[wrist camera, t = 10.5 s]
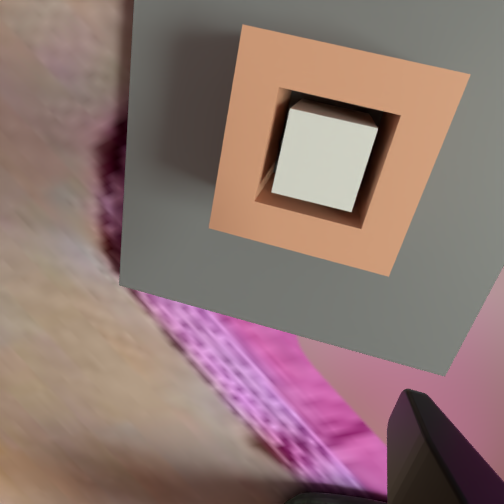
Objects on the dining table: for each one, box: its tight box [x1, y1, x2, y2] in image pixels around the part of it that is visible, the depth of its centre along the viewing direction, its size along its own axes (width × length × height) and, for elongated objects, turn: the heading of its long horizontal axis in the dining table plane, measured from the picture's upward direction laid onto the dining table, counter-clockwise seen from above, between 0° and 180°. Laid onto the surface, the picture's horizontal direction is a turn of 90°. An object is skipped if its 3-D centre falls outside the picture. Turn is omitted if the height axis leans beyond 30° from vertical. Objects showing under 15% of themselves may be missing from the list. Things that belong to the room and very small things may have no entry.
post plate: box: [119, 0, 504, 376], centre depth 14 cm, size 16×18×5 cm
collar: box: [209, 24, 471, 277], centre depth 14 cm, size 6×6×4 cm
